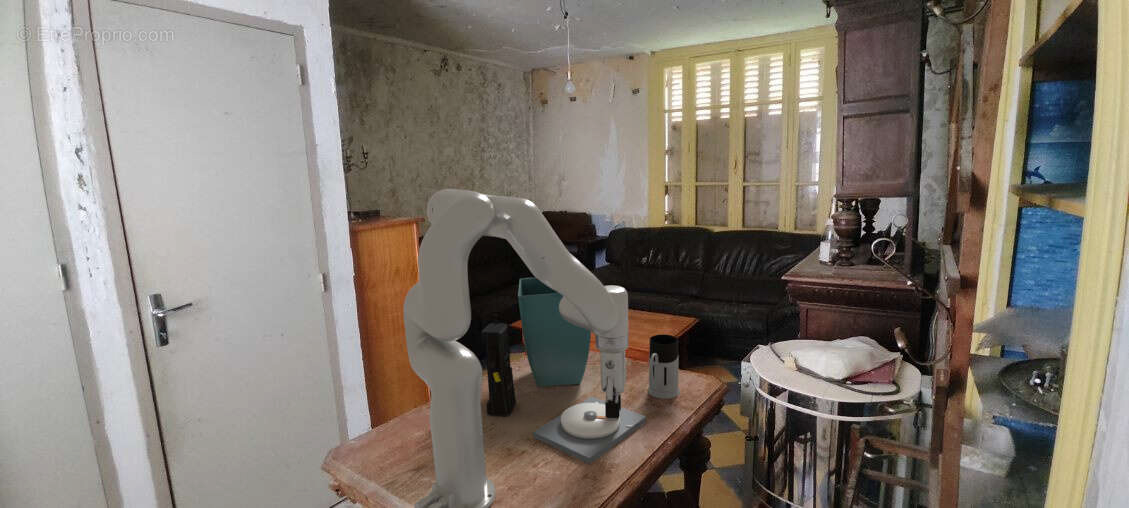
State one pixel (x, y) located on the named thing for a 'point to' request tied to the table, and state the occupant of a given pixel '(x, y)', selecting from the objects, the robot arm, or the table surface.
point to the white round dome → (588, 421)
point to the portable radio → (499, 369)
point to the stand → (588, 447)
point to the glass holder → (663, 367)
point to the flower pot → (551, 336)
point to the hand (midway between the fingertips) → (613, 413)
